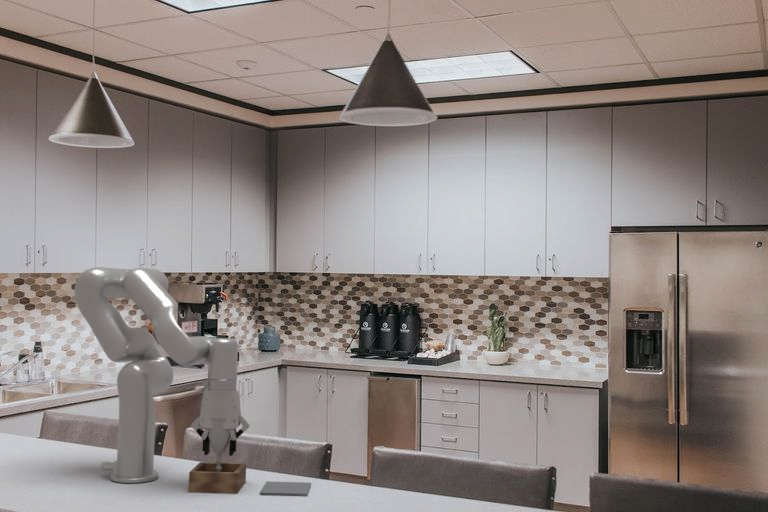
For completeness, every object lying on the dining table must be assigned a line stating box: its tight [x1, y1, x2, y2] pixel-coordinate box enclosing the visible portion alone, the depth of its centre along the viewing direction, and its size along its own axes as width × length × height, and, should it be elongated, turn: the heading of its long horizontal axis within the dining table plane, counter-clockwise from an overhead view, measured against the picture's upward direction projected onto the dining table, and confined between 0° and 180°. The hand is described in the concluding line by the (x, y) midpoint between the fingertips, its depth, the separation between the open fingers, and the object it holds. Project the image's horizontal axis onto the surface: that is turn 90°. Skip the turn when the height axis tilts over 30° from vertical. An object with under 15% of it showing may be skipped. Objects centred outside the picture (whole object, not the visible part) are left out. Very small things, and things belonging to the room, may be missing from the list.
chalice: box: [209, 419, 231, 472], centre depth 202 cm, size 7×7×18 cm
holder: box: [188, 461, 247, 495], centre depth 202 cm, size 12×12×5 cm
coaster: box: [259, 481, 312, 497], centre depth 201 cm, size 12×12×1 cm
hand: (219, 453), depth 202 cm, fingers closed on chalice, 5 cm apart
